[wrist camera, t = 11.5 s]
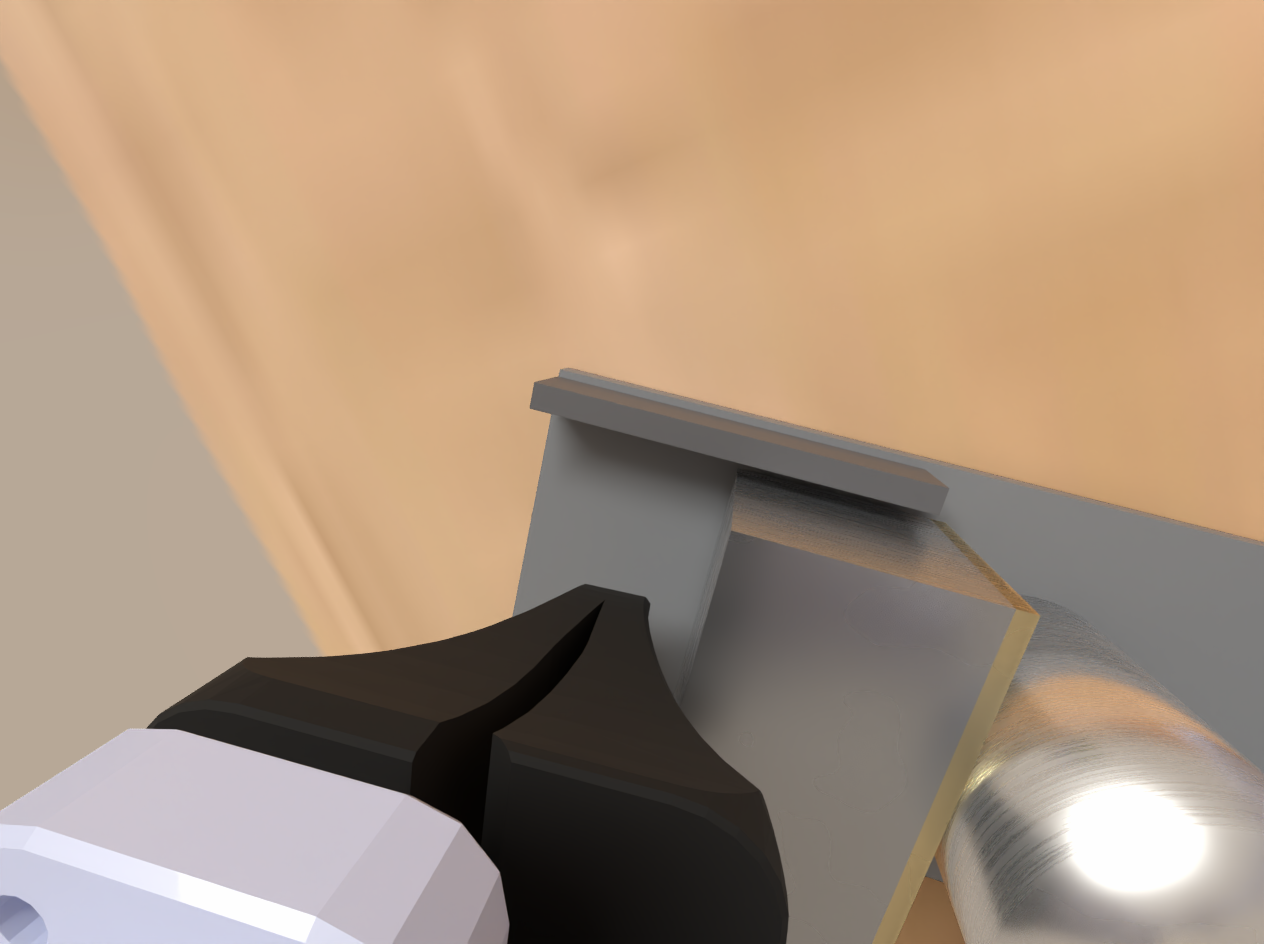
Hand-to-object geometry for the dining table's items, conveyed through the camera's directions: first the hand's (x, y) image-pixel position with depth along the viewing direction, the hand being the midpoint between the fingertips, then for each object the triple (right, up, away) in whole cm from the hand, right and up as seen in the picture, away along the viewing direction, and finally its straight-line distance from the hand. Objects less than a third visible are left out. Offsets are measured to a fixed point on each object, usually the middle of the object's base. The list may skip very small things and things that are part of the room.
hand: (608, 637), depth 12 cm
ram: (+4, 0, +2) cm, 4 cm away
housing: (+8, -1, +1) cm, 8 cm away
